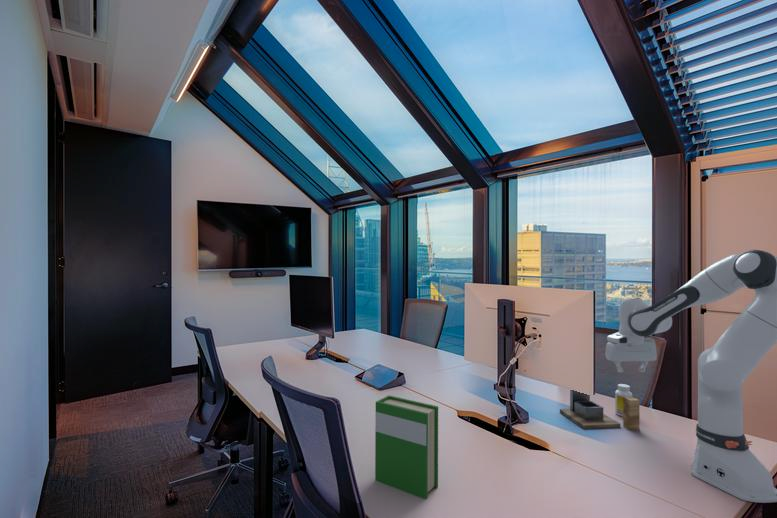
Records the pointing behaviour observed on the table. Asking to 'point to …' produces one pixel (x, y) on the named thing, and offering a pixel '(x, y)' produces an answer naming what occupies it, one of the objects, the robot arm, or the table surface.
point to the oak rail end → (631, 413)
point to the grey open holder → (585, 406)
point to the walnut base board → (590, 421)
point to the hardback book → (406, 445)
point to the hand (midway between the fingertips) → (631, 371)
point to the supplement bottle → (621, 397)
